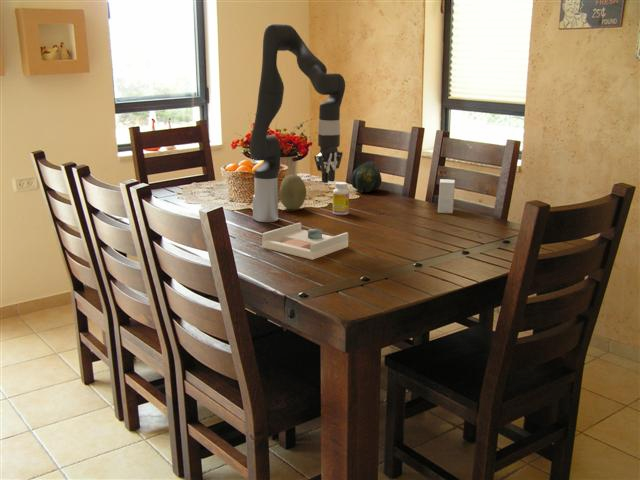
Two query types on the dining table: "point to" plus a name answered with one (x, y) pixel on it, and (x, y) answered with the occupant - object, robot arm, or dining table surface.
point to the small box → (446, 196)
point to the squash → (366, 177)
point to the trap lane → (302, 242)
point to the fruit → (292, 192)
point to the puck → (314, 233)
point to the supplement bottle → (341, 199)
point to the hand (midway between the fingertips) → (328, 181)
